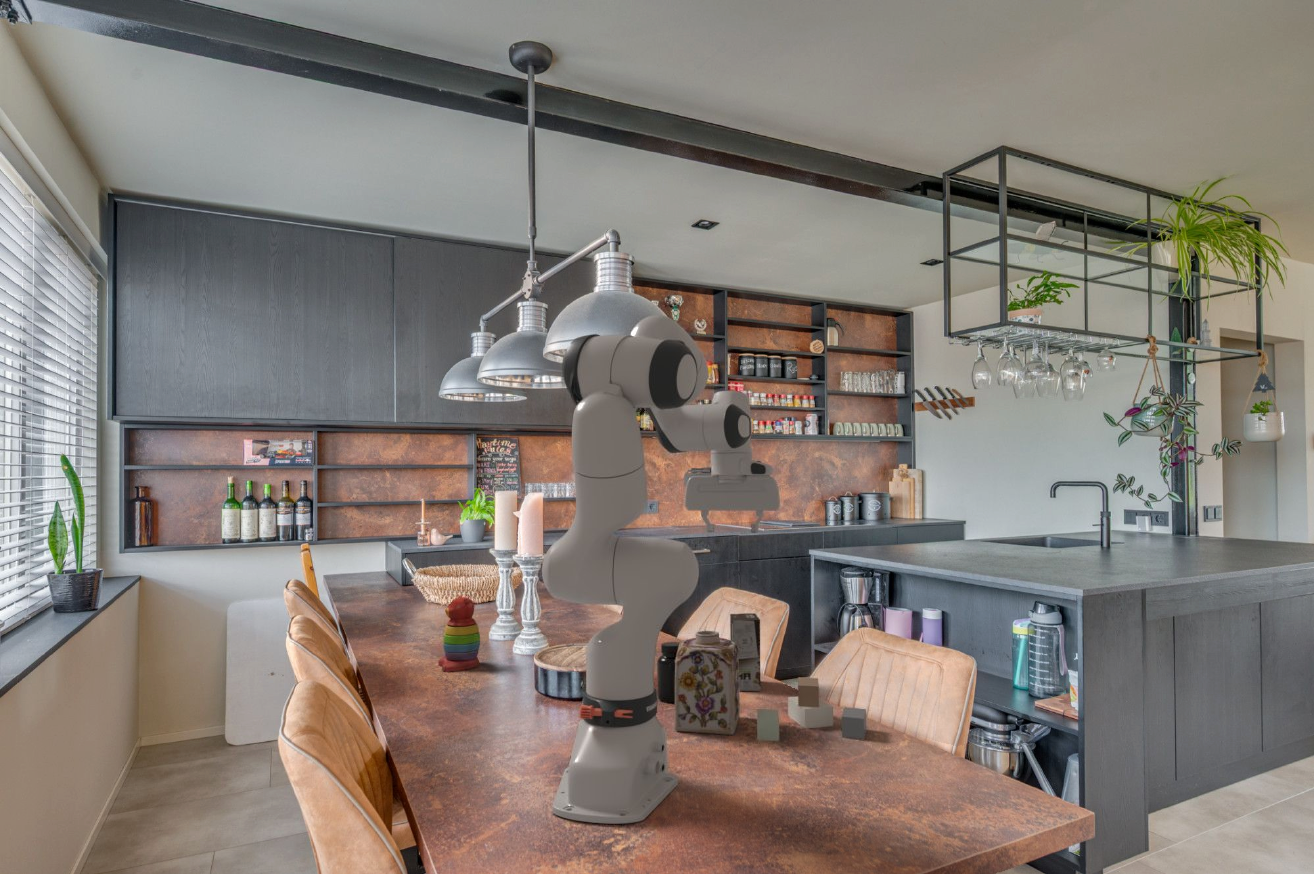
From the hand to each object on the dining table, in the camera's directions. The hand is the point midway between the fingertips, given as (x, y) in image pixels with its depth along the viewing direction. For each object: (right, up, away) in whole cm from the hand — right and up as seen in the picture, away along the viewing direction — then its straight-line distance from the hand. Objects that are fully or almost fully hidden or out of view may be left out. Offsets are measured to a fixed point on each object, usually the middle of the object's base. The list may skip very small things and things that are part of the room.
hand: (732, 532), depth 158 cm
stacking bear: (-68, -40, +36) cm, 86 cm away
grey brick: (+21, -36, -17) cm, 45 cm away
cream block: (+15, -37, -9) cm, 41 cm away
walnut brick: (+14, -33, -9) cm, 37 cm away
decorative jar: (-6, -37, -11) cm, 39 cm away
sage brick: (+5, -36, -17) cm, 41 cm away
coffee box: (+5, -38, +16) cm, 42 cm away
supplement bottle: (-13, -38, +6) cm, 40 cm away
